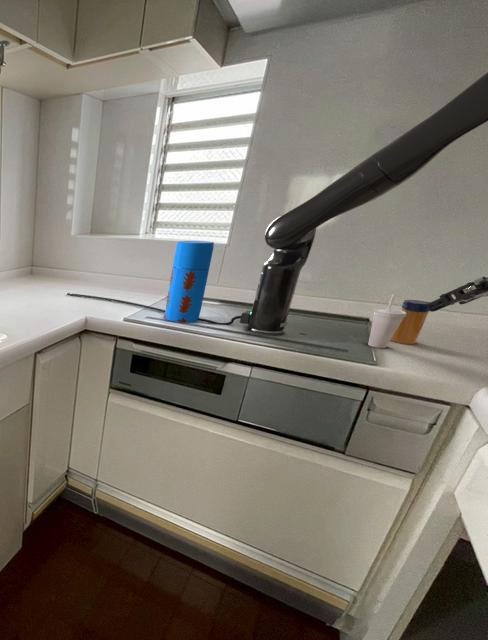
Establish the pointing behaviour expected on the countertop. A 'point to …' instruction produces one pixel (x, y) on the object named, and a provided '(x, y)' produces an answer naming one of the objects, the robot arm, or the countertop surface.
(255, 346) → the countertop surface
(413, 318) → the jam jar
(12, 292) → the countertop surface
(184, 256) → the thermos
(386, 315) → the smoothie
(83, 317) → the countertop surface
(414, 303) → the jam lid
